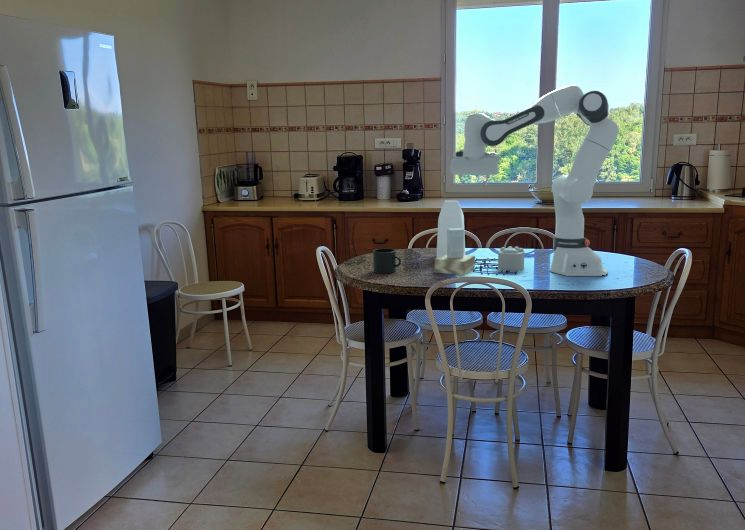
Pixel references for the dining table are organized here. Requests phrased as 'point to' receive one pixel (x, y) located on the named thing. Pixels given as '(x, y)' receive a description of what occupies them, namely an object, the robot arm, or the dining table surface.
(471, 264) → the birch block
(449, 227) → the milk
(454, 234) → the skincare box
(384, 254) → the mug
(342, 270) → the dining table surface
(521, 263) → the lumpy-topped squat cylinder
